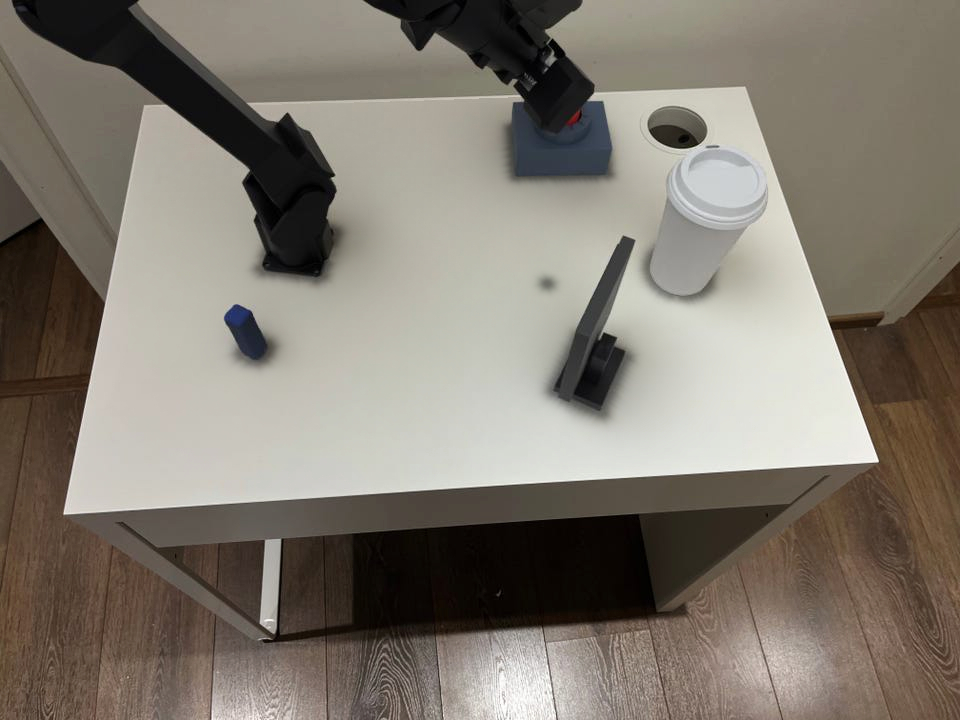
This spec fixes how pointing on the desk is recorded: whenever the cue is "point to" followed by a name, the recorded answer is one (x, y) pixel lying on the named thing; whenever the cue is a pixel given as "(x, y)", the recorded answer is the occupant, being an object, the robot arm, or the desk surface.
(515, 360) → the desk surface
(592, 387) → the monitor stand
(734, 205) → the coffee cup
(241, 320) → the eraser
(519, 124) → the switch box
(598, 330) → the screen
